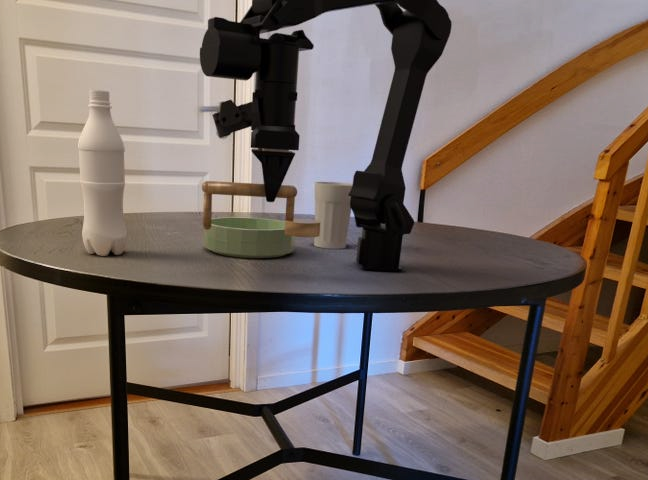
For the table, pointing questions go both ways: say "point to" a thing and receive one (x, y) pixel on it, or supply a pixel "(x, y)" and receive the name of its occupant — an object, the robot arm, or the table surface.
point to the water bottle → (102, 179)
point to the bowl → (248, 237)
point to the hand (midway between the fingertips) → (269, 201)
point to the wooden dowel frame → (258, 190)
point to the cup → (332, 213)
